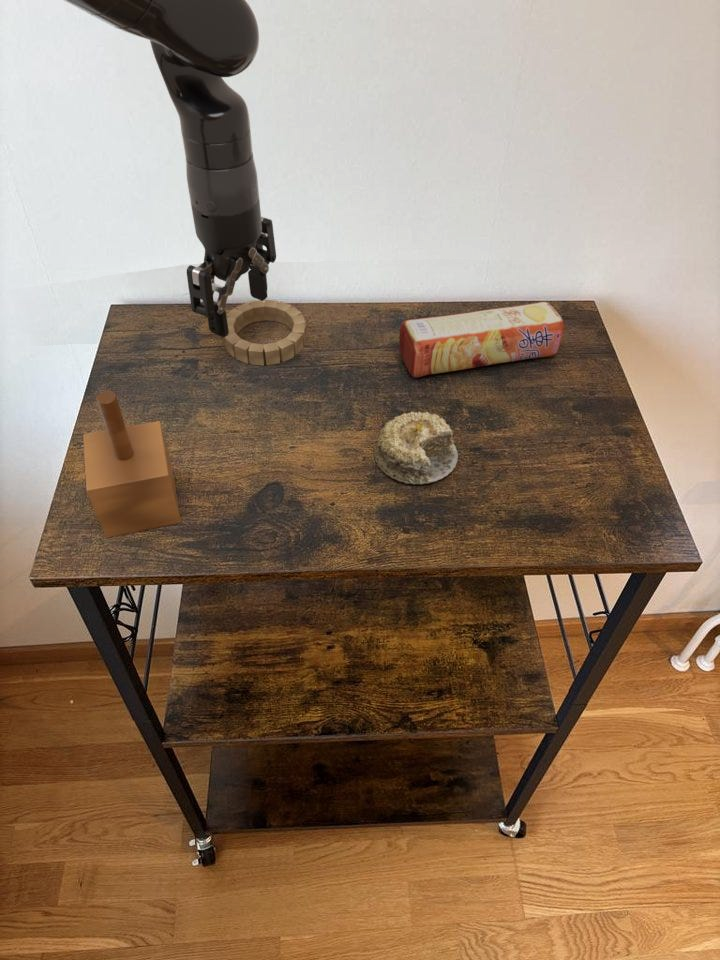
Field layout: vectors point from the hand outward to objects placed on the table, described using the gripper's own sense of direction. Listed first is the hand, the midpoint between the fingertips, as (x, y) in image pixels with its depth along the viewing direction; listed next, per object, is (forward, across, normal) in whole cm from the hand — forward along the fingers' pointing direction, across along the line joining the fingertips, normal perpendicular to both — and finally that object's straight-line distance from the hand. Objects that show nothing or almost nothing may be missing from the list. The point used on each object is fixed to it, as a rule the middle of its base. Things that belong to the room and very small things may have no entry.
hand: (240, 315), depth 93 cm
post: (+7, +26, +4) cm, 28 cm away
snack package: (+7, -16, +27) cm, 32 cm away
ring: (+7, -5, 0) cm, 8 cm away
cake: (+7, +4, +28) cm, 29 cm away
